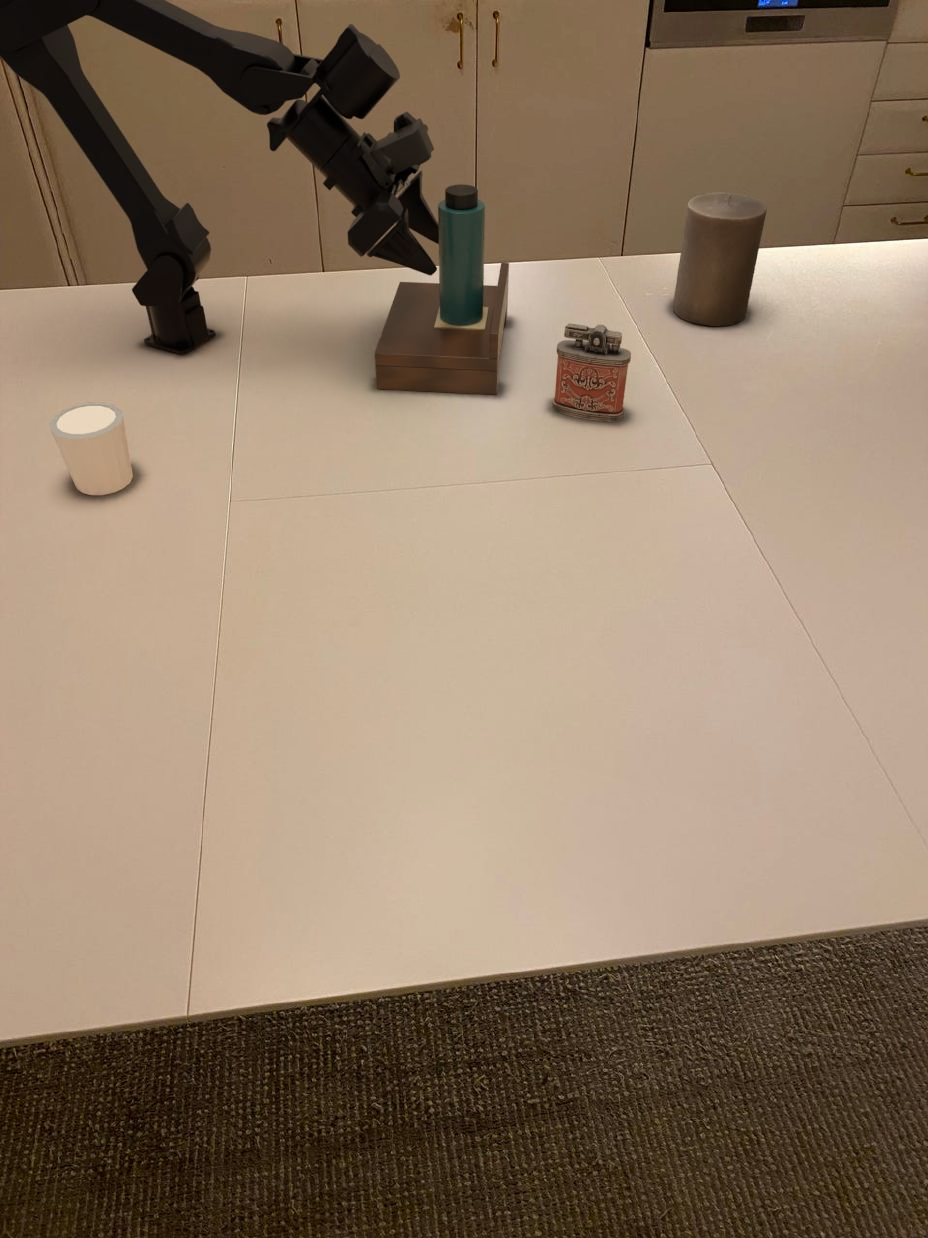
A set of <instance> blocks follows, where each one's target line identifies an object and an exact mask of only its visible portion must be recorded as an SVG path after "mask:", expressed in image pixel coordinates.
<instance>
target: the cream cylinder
mask: <svg viewBox="0 0 928 1238" xmlns="http://www.w3.org/2000/svg"><path fill="white" fill-rule="evenodd" d="M49 429H50V432H51V434H52V437H53V439H54V442H55V444H56V445H57V448H58V450H59V452H60V455H61V457H62V459H63V461H64V464H65V466H66V468H67V470H68V473H69V474H70V477H71V479H72V481H73V483H74V487H75V489H76V490H78V491H79V492H80V493H81V494H85V495H89V496H105V495H110V494H114V493H117V492H119V491H121V490H123V489H125V488H126V487H127V486H129V484H131V482H132V480H133V477H134V474H133V469H132V462H131V457H130V451H129V445H128V437H127V432H126V426H125V420H124V415H123V411H122V409H120V408H119V407H118V406H116V405H115V404H110V403H107V402H86V403H80V404H75V405H73V406H70V407H66V408H65V409H63V410H61V411H60V412H58V413H57V414H55V415H54V416H53V417H52V419H50V422H49Z"/></svg>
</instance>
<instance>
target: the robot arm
mask: <svg viewBox="0 0 928 1238" xmlns="http://www.w3.org/2000/svg"><path fill="white" fill-rule="evenodd" d="M85 16H88V17H92V18H94V19H97V20H98V21H100V22H102V23H104V24H106V25H109V26H110V27H112V28H114V29H116V30H119V31H120V32H122V33H124V34H127V35H128V36H130V37H132V38H134V39H136V40H139V41H140V42H143V43H145V44H146V45H149V46H151V47H153V48H154V49H157V50H158V51H161V52H163V53H164V54H167V55H169V56H171V57H172V58H174V59H177V60H178V61H181V62H183V63H185V64H186V65H189V66H191V67H193V68H194V69H196V70H198V71H199V72H201V73H203V74H204V75H205V76H207V77H208V78H209V79H210V80H211V81H212V82H213V83H214V84H215V85H216V86H217V87H218V89H219V90H220V91H221V92H222V93H224V94H225V95H227V97H229V98H230V99H232V100H234V101H235V102H236V103H238V104H239V105H240V106H242V107H243V108H244V109H246V110H248V112H250V113H253V114H256V115H259V116H268V115H270V114H273V113H275V112H277V111H279V110H280V109H281V108H282V107H283V106H284V104H285V103H286V102H289V101H293V103H292V104H291V106H289V108H288V109H287V110H286V112H285V113H284V114H283V115H282V116H281V117H271V118H270V119H269V120H268V121H267V123H266V127H267V130H268V136H269V139H268V140H269V150H270V151H271V152H276V151H277V150H279V148H280V147H281V145H282V144H283V143H284V142H285V141H286V139H287V140H288V141H289V142H290V143H291V144H292V145H293V146H294V147H295V148H296V149H297V150H298V151H299V152H300V153H301V154H302V155H303V156H304V157H305V158H306V160H308V162H309V163H311V164H312V166H314V167H315V169H316V170H318V172H319V173H320V174H322V176H323V177H324V178H325V179H324V180H323V183H322V185H323V186H324V187H325V188H326V189H327V190H328V191H331V190H332V189H333V188H335V189H336V190H337V191H338V192H339V193H340V194H341V195H342V196H343V197H344V198H345V199H346V200H347V201H348V202H349V203H350V204H351V206H353V207H352V210H351V211H350V212H351V214H352V216H354V217H355V218H354V219H353V220H352V222H351V223H350V226H349V228H348V230H347V245H348V246H349V247H350V248H351V249H352V250H353V251H354V252H355V253H356V254H357V255H358V256H359V257H360V258H362V257H364V256H365V255H366V256H367V257H368V258H370V259H371V258H372V257H373V258H376V259H377V258H378V259H381V260H385V261H387V262H390V263H394V264H397V265H400V266H403V267H405V268H408V269H410V270H414V271H416V272H419V273H423V274H424V275H426V276H430V277H431V276H433V275H435V273H436V272H437V271H438V270H437V269H438V267H437V265H436V264H435V263H434V261H433V260H432V257H430V255H429V254H428V253H427V251H426V250H425V248H424V246H422V244H421V243H420V242H419V240H418V239H417V238H416V236H415V235H414V233H413V232H415V233H417V234H419V235H420V236H422V237H424V238H426V239H427V240H429V241H431V242H433V243H435V244H437V245H439V229H438V220H437V219H436V217H435V215H434V214H433V212H432V210H431V208H430V206H429V204H428V202H427V201H426V198H425V197H424V194H423V170H420V167H421V165H423V164H424V163H426V162H428V161H429V160H430V159H431V158H432V152H434V150H435V147H434V145H433V142H432V141H431V138H430V135H429V133H428V131H429V127H428V125H427V124H425V123H424V122H423V120H422V118H420V117H419V118H417V119H416V118H415V117H414V116H413V115H412V114H411V113H409V111H404V112H403V113H401V114H399V115H397V116H396V117H395V118H394V120H393V132H388V133H387V135H386V136H384V137H381V138H380V139H378V140H377V139H376V138H375V137H374V136H373V135H372V134H371V133H369V132H367V133H366V132H365V131H364V132H363V133H362V134H361V135H360V134H359V133H358V131H356V129H355V128H354V127H353V126H352V125H351V124H350V123H349V122H348V121H347V120H352V119H353V118H356V119H358V120H365V119H366V117H367V116H368V115H369V114H370V112H371V111H372V110H374V108H375V107H376V106H377V105H378V103H380V102H381V100H382V99H383V98H384V97H385V96H386V95H387V93H388V92H389V91H390V90H391V89H392V88H393V87H394V85H395V84H396V83H397V82H398V81H399V80H400V78H401V74H400V70H399V68H398V67H397V64H396V63H395V61H394V60H393V58H392V57H391V55H390V54H389V53H388V52H387V51H386V50H385V48H384V47H383V46H382V45H381V44H380V43H376V42H375V41H374V40H373V39H372V38H371V37H369V36H368V35H367V34H365V33H363V32H360V31H359V30H358V29H357V27H356V26H355V25H354V24H352V23H349V24H348V25H347V27H346V28H345V29H344V30H343V31H342V33H341V34H340V35H339V37H338V39H337V41H336V43H335V45H334V46H333V47H332V48H331V50H330V51H329V52H328V53H327V55H326V56H325V57H324V58H323V59H322V58H317V57H313V56H308V55H302V54H298V53H293V52H292V51H291V49H290V48H289V47H288V46H286V45H285V44H284V43H282V42H281V41H277V40H274V39H272V38H268V37H264V36H262V35H258V34H256V33H255V34H254V33H251V32H247V31H240V30H233V29H229V28H225V27H221V26H218V25H214V24H213V23H211V22H209V21H207V20H205V19H203V18H201V17H199V16H197V15H195V14H194V13H191V12H189V11H187V10H185V9H184V8H181V7H179V6H177V5H175V4H173V3H171V2H170V1H167V0H0V59H1V60H2V61H3V62H4V63H5V64H6V65H7V66H8V68H9V69H10V70H11V71H12V72H13V73H14V74H15V75H16V76H17V77H19V78H20V79H21V80H23V81H24V82H25V83H27V84H28V85H30V86H31V87H33V88H34V89H36V91H38V92H39V93H41V94H42V95H43V96H44V98H46V100H47V101H48V102H49V104H50V106H51V107H52V109H53V110H54V112H55V113H56V114H57V116H58V117H59V119H60V121H61V122H62V123H63V124H64V126H65V128H66V129H67V130H68V132H69V133H70V135H71V136H72V138H73V140H75V143H76V144H77V146H78V147H79V148H80V149H81V151H82V153H83V154H84V156H85V157H86V158H87V159H88V161H89V163H90V164H91V166H92V167H93V169H94V170H95V171H96V173H97V175H98V176H99V178H100V179H101V180H102V182H103V183H104V185H105V186H106V188H107V189H108V190H109V192H110V193H111V195H112V197H113V198H114V199H115V201H116V202H117V204H118V206H119V207H120V208H121V210H122V211H123V212H124V214H125V215H126V217H127V218H128V220H129V223H130V226H131V230H132V234H133V239H134V242H135V247H136V251H137V253H138V254H139V257H140V258H141V261H142V262H143V265H144V266H145V269H146V271H145V272H144V273H143V275H142V276H141V277H140V278H139V279H138V281H137V282H136V283H135V284H134V285H133V287H132V288H131V292H132V294H133V295H134V297H135V299H136V300H137V302H138V304H139V305H140V306H142V307H145V311H146V314H147V318H148V322H149V327H150V331H151V334H150V335H148V336H146V337H145V338H144V339H143V343H144V345H147V346H151V347H155V348H158V349H162V350H165V351H169V352H172V353H175V354H178V355H185V354H187V353H189V352H190V351H193V350H194V349H195V348H197V347H199V346H200V345H202V344H203V343H205V342H206V341H209V340H210V339H212V338H213V337H214V336H216V330H214V329H211V328H208V324H207V319H206V314H205V309H204V306H203V305H202V303H201V302H202V301H201V297H200V292H199V291H197V290H195V288H194V287H193V286H194V284H195V283H196V282H197V281H199V279H200V276H201V274H202V272H203V270H204V269H205V268H206V267H207V265H208V263H209V261H210V258H211V251H212V246H211V243H210V241H209V239H208V236H209V235H210V231H209V230H208V229H207V228H206V227H204V226H203V223H201V221H200V220H199V218H198V217H197V214H196V212H195V210H194V208H193V207H192V205H191V204H190V203H189V202H186V203H185V204H184V205H183V206H181V207H179V206H177V205H176V204H174V203H173V202H172V201H170V200H169V199H167V198H166V196H164V195H163V193H162V192H161V190H160V189H159V187H158V185H157V184H156V182H155V180H154V179H153V178H152V176H151V175H150V173H149V172H148V170H147V168H146V167H145V165H144V164H143V162H142V160H141V159H140V158H139V157H138V154H137V153H136V152H135V150H134V148H133V147H132V145H131V144H130V143H129V141H128V139H127V138H126V137H125V134H124V133H123V132H122V130H121V129H120V127H119V126H118V124H117V123H116V121H115V119H114V117H113V116H112V115H111V113H110V112H109V110H108V109H107V107H106V106H105V104H104V102H103V101H102V99H101V98H100V97H99V95H98V93H97V92H96V90H95V89H94V87H93V86H92V84H91V83H90V81H89V79H88V78H87V77H86V75H85V73H84V71H83V69H82V65H81V62H80V56H79V52H78V50H77V44H76V41H75V37H74V35H73V33H72V31H71V29H70V27H69V25H70V24H71V23H73V22H75V21H78V20H80V19H81V18H84V17H85ZM315 84H316V85H317V86H318V87H319V90H317V92H316V93H315V94H314V96H312V98H311V99H310V100H309V101H306V100H303V99H302V98H303V97H304V96H305V95H306V94H307V93H308V92H309V90H310V89H311V88H312V86H314V85H315ZM294 100H295V101H294ZM346 119H347V120H346ZM412 174H414V177H412V176H411V175H412ZM411 230H412V231H413V232H412V231H411Z"/></svg>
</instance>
